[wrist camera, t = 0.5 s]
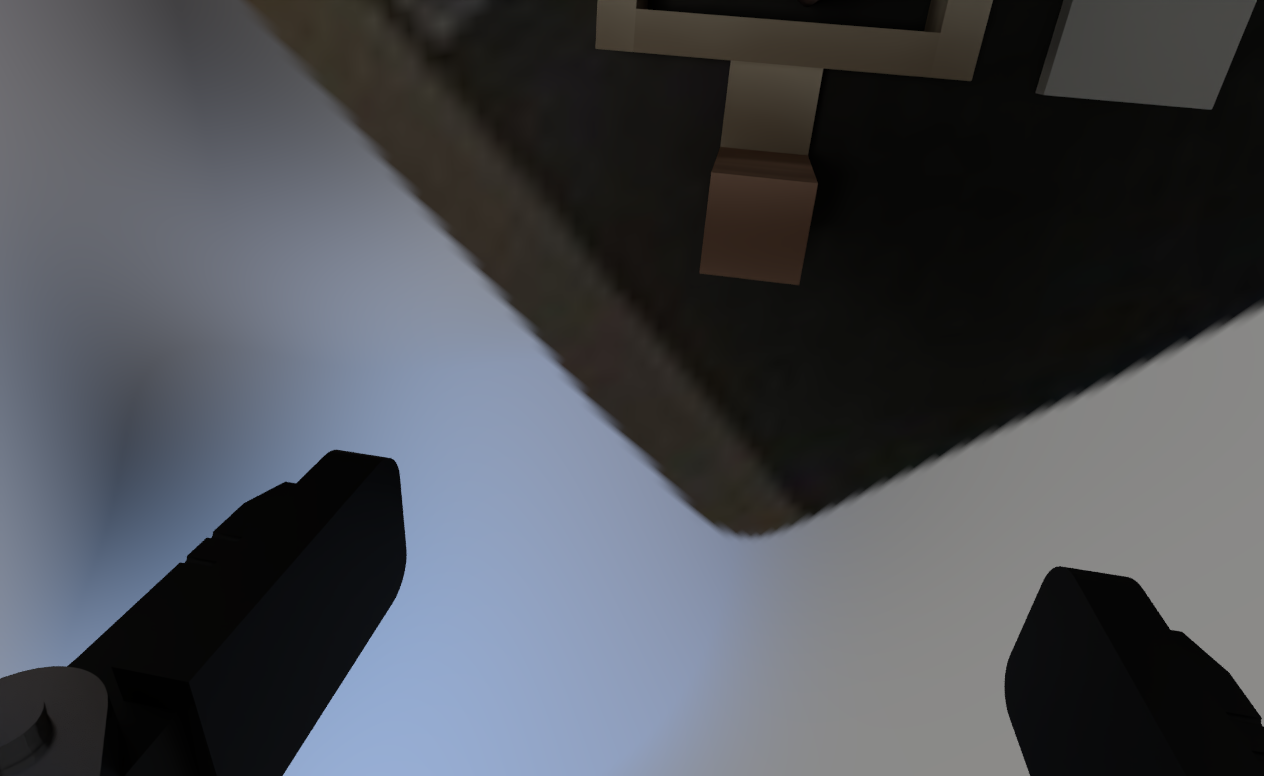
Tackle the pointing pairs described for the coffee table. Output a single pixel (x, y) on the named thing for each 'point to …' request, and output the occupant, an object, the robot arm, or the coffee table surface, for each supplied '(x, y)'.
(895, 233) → the coffee table surface
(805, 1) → the box
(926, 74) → the wooden open tray
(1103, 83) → the pair of grey tiles
